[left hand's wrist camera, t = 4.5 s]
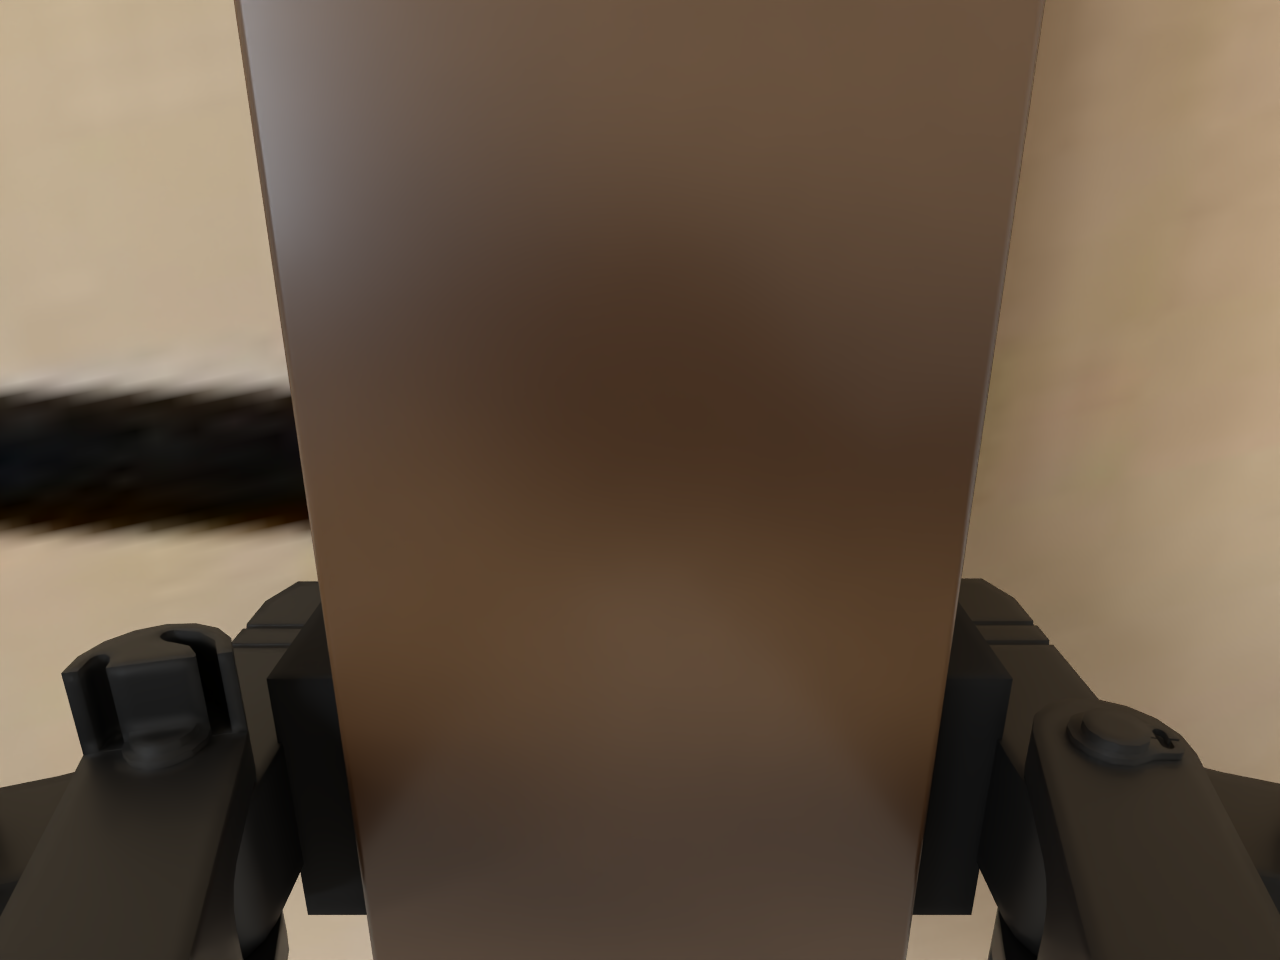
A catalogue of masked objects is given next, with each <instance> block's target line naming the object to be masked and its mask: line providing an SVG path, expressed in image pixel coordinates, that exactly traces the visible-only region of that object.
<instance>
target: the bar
mask: <svg viewBox="0 0 1280 960" xmlns="http://www.w3.org/2000/svg"><path fill="white" fill-rule="evenodd" d="M234 5H235V12H236V18H237V25H238V32H239V39H240V46H241V53H242V60H243V67H244V73H245V80H246V87H247V94H248V101H249V108H250V115H251V122H252V128H253V135H254V142H255V149H256V156H257V163H258V170H259V177H260V184H261V190H262V197H263V204H264V211H265V218H266V225H267V232H268V239H269V245H270V252H271V259H272V266H273V273H274V280H275V287H276V294H277V300H278V307H279V314H280V321H281V328H282V335H283V342H284V349H285V355H286V362H287V369H288V376H289V383H290V390H291V397H292V404H293V410H294V417H295V424H296V431H297V438H298V445H299V452H300V459H301V465H302V472H303V479H304V486H305V493H306V500H307V507H308V514H309V520H310V527H311V534H312V541H313V548H314V555H315V562H316V569H317V575H318V582H319V589H320V596H321V603H322V610H323V617H324V624H325V630H326V637H327V644H328V651H329V658H330V665H331V672H332V679H333V685H334V692H335V699H336V706H337V713H338V720H339V727H340V734H341V740H342V747H343V754H344V761H345V768H346V775H347V782H348V789H349V796H350V802H351V809H352V816H353V823H354V830H355V837H356V844H357V851H358V857H359V864H360V871H361V878H362V885H363V892H364V899H365V906H366V912H367V919H368V926H369V933H370V940H371V947H372V954H373V960H906V955H907V948H908V941H909V934H910V928H911V921H912V914H913V907H914V900H915V893H916V886H917V879H918V872H919V866H920V859H921V852H922V845H923V838H924V831H925V824H926V817H927V810H928V804H929V797H930V790H931V783H932V776H933V769H934V762H935V755H936V749H937V742H938V735H939V728H940V721H941V714H942V707H943V700H944V693H945V687H946V680H947V673H948V666H949V659H950V652H951V645H952V638H953V631H954V625H955V618H956V611H957V604H958V597H959V590H960V583H961V576H962V569H963V563H964V556H965V549H966V542H967V535H968V528H969V521H970V514H971V507H972V501H973V494H974V487H975V480H976V473H977V466H978V459H979V452H980V446H981V439H982V432H983V425H984V418H985V411H986V404H987V397H988V390H989V384H990V377H991V370H992V363H993V356H994V349H995V342H996V335H997V328H998V322H999V315H1000V308H1001V301H1002V294H1003V287H1004V280H1005V273H1006V266H1007V260H1008V253H1009V246H1010V239H1011V232H1012V225H1013V218H1014V211H1015V205H1016V198H1017V191H1018V184H1019V177H1020V170H1021V163H1022V156H1023V149H1024V143H1025V136H1026V129H1027V122H1028V115H1029V108H1030V101H1031V94H1032V87H1033V81H1034V74H1035V67H1036V60H1037V53H1038V46H1039V39H1040V32H1041V25H1042V19H1043V12H1044V5H1045V0H234Z"/></svg>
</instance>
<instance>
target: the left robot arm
mask: <svg viewBox="0 0 1280 960" xmlns="http://www.w3.org/2000/svg"><path fill="white" fill-rule="evenodd" d="M61 674H62V678H63V682H64V685H65V689H66V693H67V696H68V700H69V704H70V707H71V711H72V715H73V718H74V722H75V726H76V729H77V733H78V737H79V740H80V744H81V747H82V751H83V757H82V759H81V761H80V763H79V765H78V767H77V769H76V771H75V772H73V773H69V774H65V775H61V776H57V777H52V778H47V779H42V780H37V781H32V782H27V783H22V784H17V785H12V786H7V787H2V788H0V960H288V953H289V946H288V938H287V930H286V925H285V920H284V914H283V908H284V906H285V903H286V901H287V899H288V897H289V895H290V893H291V891H292V889H293V886H294V884H295V882H296V880H297V878H298V876H299V874H300V872H301V877H302V883H303V889H304V894H305V900H306V906H307V911H308V915H367V912H366V906H365V899H364V892H363V885H362V878H361V871H360V864H359V857H358V851H357V844H356V837H355V830H354V823H353V816H352V809H351V802H350V796H349V789H348V782H347V775H346V768H345V761H344V754H343V747H342V740H341V734H340V727H339V720H338V713H337V706H336V699H335V692H334V685H333V679H332V672H331V665H330V658H329V651H328V644H327V637H326V630H325V624H324V617H323V610H322V603H321V596H320V589H319V582H297V583H295V584H293V585H292V586H290V587H288V588H287V589H285V590H283V591H282V592H280V593H278V594H277V595H275V596H273V597H272V598H270V599H268V600H267V601H265V603H264V604H263V605H262V606H261V607H260V609H259V610H258V611H257V612H256V614H255V615H254V616H253V617H252V618H251V620H250V621H249V622H248V623H247V628H246V629H242V630H241V632H240V633H239V634H238V635H237V636H236V638H235V639H234V640H233V641H231V638H230V637H229V636H228V635H227V634H225V633H224V632H223V631H221V630H220V629H219V628H215V627H211V626H206V625H201V624H196V623H192V624H166V625H161V626H155V627H150V628H145V629H140V630H135V631H132V632H130V633H127V634H124V635H121V636H119V637H116V638H113V639H110V640H107V641H105V642H103V643H101V644H99V645H97V646H96V647H94V648H92V649H90V650H89V651H87V652H85V653H83V654H82V655H80V656H78V657H77V658H76V659H75V660H74V661H73V662H72V663H71V664H70V665H69V666H68V667H67V668H66V669H65V670H64V671H63V672H62V673H61ZM979 868H980V870H981V873H982V875H983V877H984V879H985V881H986V883H987V885H988V887H989V889H990V892H991V894H992V896H993V898H994V900H995V902H996V904H997V906H998V909H997V914H996V920H995V925H994V930H993V936H992V941H991V946H990V951H989V957H988V960H1280V784H1279V783H1273V782H1268V781H1263V780H1258V779H1253V778H1248V777H1243V776H1238V775H1233V774H1228V773H1223V772H1219V771H1215V770H1211V769H1207V768H1204V767H1203V765H1202V763H1201V761H1200V759H1199V758H1198V756H1197V754H1196V753H1195V751H1194V750H1193V749H1192V748H1191V747H1190V745H1189V744H1188V743H1187V742H1186V741H1185V739H1184V738H1183V737H1182V736H1181V735H1180V734H1178V733H1177V732H1175V731H1174V730H1173V729H1171V728H1170V727H1168V726H1167V725H1165V724H1164V723H1162V722H1161V721H1159V720H1158V719H1156V718H1154V717H1151V716H1149V715H1147V714H1144V713H1142V712H1139V711H1137V710H1135V709H1132V708H1130V707H1128V706H1124V705H1119V704H1115V703H1111V702H1106V701H1102V700H1099V699H1098V698H1097V697H1096V696H1095V694H1094V693H1093V692H1092V691H1091V690H1090V688H1089V687H1088V686H1087V685H1086V684H1085V682H1084V681H1083V680H1082V679H1081V678H1080V676H1079V675H1078V674H1077V673H1076V672H1075V670H1074V669H1073V668H1072V667H1071V666H1070V664H1069V663H1068V662H1067V661H1066V660H1065V658H1064V657H1063V656H1062V655H1061V654H1060V653H1059V651H1058V650H1057V649H1056V648H1055V647H1054V645H1049V639H1048V638H1047V637H1046V636H1045V635H1044V633H1043V632H1042V631H1041V630H1040V629H1039V627H1038V626H1037V625H1033V620H1032V619H1031V618H1030V617H1029V615H1028V614H1027V613H1026V612H1025V611H1024V609H1023V608H1022V607H1021V606H1020V605H1019V603H1018V602H1017V601H1016V600H1015V599H1014V598H1013V597H1011V596H1010V595H1008V594H1006V593H1005V592H1003V591H1001V590H1000V589H998V588H996V587H995V586H993V585H991V584H990V583H988V582H986V581H985V580H983V579H961V583H960V590H959V597H958V604H957V611H956V618H955V625H954V631H953V638H952V645H951V652H950V659H949V666H948V673H947V680H946V687H945V693H944V700H943V707H942V714H941V721H940V728H939V735H938V742H937V749H936V755H935V762H934V769H933V776H932V783H931V790H930V797H929V804H928V810H927V817H926V824H925V831H924V838H923V845H922V852H921V859H920V866H919V872H918V879H917V886H916V893H915V900H914V907H913V914H912V915H971V914H972V908H973V902H974V897H975V891H976V885H977V880H978V874H979Z"/></svg>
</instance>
